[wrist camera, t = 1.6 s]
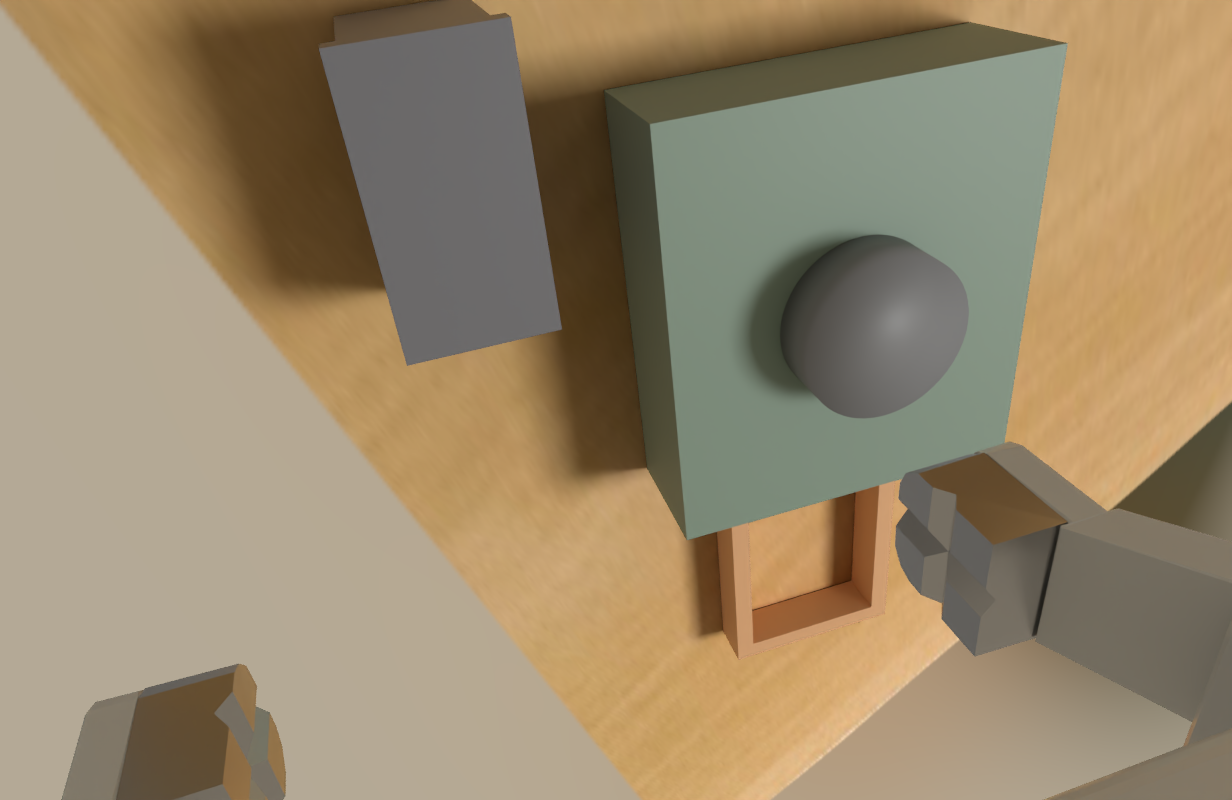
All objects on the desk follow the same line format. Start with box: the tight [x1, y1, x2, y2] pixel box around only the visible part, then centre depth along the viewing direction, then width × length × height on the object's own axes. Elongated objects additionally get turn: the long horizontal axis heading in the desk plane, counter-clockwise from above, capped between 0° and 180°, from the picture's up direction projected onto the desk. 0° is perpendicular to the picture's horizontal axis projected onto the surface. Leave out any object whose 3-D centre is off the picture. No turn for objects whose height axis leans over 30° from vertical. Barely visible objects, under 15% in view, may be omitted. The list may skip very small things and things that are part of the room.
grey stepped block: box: [319, 0, 562, 366], centre depth 26 cm, size 5×9×6 cm, turn 7°
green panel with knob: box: [604, 22, 1068, 660], centre depth 35 cm, size 14×27×7 cm, turn 7°
